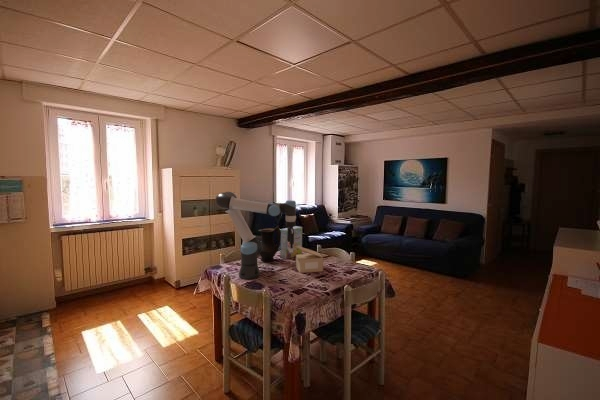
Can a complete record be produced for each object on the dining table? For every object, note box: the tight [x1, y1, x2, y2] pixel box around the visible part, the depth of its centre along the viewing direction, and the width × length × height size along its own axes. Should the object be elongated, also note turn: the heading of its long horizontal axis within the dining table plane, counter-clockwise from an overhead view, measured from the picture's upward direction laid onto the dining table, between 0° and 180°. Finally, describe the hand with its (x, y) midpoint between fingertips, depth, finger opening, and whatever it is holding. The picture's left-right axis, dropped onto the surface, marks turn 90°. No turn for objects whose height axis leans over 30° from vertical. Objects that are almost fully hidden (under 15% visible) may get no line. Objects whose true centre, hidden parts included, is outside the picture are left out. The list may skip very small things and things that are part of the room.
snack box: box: [280, 225, 303, 260], centre depth 256 cm, size 22×9×26 cm, turn 143°
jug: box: [257, 226, 281, 263], centre depth 241 cm, size 21×18×30 cm
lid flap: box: [287, 242, 323, 258], centre depth 220 cm, size 27×13×4 cm, turn 104°
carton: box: [295, 253, 324, 274], centre depth 221 cm, size 18×14×10 cm
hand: (290, 251), depth 217 cm, fingers closed on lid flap, 5 cm apart
